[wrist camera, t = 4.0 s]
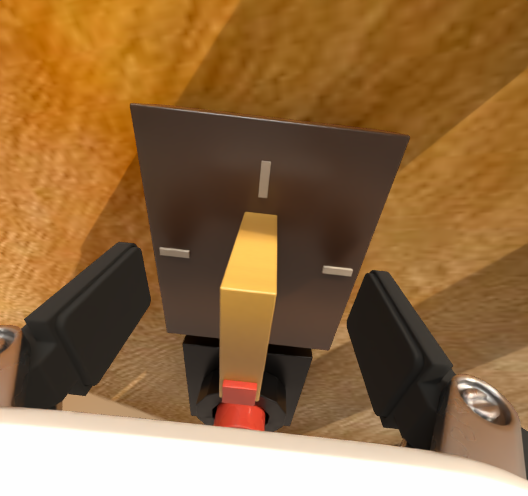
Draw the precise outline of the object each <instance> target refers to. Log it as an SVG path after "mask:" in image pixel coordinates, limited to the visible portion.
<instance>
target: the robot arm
mask: <svg viewBox="0 0 528 496" xmlns="http://www.w3.org/2000/svg"><path fill="white" fill-rule="evenodd" d="M150 301H151V297H150V292H149V287H148V282H147V277H146V272H145V267H144V261H143V256H142V251H141V249H140V248H138V247H137V245H136V244H134V243H125V242H118V243H116V244H115V245H114V246H113V247H111V248H110V249H109V250H108V251H107V252H105V253H104V254H103V255H102V256H101V257H99V258H98V259H97V260H96V261H94V262H93V263H92V264H91V265H90V266H88V267H87V268H86V269H85V270H83V271H82V272H81V273H80V274H79V275H77V276H76V277H75V278H74V279H72V280H71V281H70V282H69V283H68V284H66V285H65V286H64V287H63V288H62V289H60V290H59V291H58V292H57V293H55V294H54V295H53V296H52V297H51V298H49V299H48V300H47V301H46V302H44V303H43V304H42V305H41V306H40V307H38V308H37V309H36V310H35V311H33V312H32V313H31V314H30V315H29V316H27V317H26V318H25V319H24V320H25V322H26V325H25V326H24V327H23V328H22V329H20V328H19V327H17V326H13V325H0V496H528V431H526V430H525V429H523V428H522V427H521V424H520V420H519V417H518V414H517V412H516V411H515V409H514V407H513V406H512V404H511V403H510V402H509V401H508V400H507V399H506V398H505V397H504V396H503V395H502V394H501V393H500V392H499V391H498V390H496V389H495V388H494V387H493V386H491V385H490V384H488V383H486V382H485V381H483V380H481V379H479V378H477V377H475V376H471V375H467V374H458V375H456V374H455V373H454V371H453V370H452V367H453V364H452V363H451V362H450V360H449V359H448V357H447V356H446V354H445V353H444V351H443V350H442V349H441V347H440V346H439V344H438V343H437V341H436V340H435V338H434V337H433V336H432V334H431V333H430V331H429V330H428V328H427V327H426V325H425V324H424V323H423V321H422V320H421V318H420V317H419V315H418V314H417V312H416V311H415V310H414V308H413V307H412V305H411V304H410V302H409V301H408V299H407V298H406V297H405V295H404V294H403V292H402V291H401V289H400V288H399V286H398V285H397V284H396V282H395V281H394V279H393V278H392V276H391V275H390V274H389V273H388V272H386V271H377V270H372V271H371V272H370V273H367V274H366V275H365V277H364V279H363V282H362V284H361V287H360V289H359V292H358V294H357V297H356V299H355V302H354V304H353V307H352V309H351V312H350V314H349V317H348V319H347V329H348V333H349V336H350V339H351V342H352V345H353V348H354V351H355V354H356V357H357V360H358V364H359V367H360V370H361V373H362V376H363V379H364V382H365V385H366V388H367V392H368V395H369V398H370V401H371V404H372V407H373V410H374V412H375V414H376V415H377V416H380V419H381V422H382V425H383V427H384V428H394V429H399V431H400V433H401V436H402V438H403V440H402V443H401V447H399V446H392V445H384V444H376V443H368V442H359V441H350V440H341V439H332V438H323V437H314V436H305V435H296V434H287V433H278V432H268V431H259V430H249V429H240V428H230V427H221V426H211V425H202V424H192V423H183V422H173V421H163V420H153V419H143V418H133V417H123V416H113V415H102V414H93V413H83V412H73V411H62V401H63V399H64V398H65V397H66V395H67V394H73V395H82V396H86V394H87V393H88V391H89V390H90V389H91V387H92V386H95V385H97V384H98V383H99V381H100V380H101V378H102V377H103V375H104V374H105V372H106V371H107V369H108V368H109V366H110V365H111V363H112V362H113V360H114V359H115V357H116V356H117V354H118V353H119V351H120V350H121V348H122V347H123V345H124V344H125V342H126V341H127V339H128V337H129V336H130V334H131V333H132V331H133V330H134V328H135V327H136V325H137V324H138V322H139V321H140V319H141V318H142V316H143V315H144V313H145V312H146V310H147V309H148V307H149V305H150Z"/></svg>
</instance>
